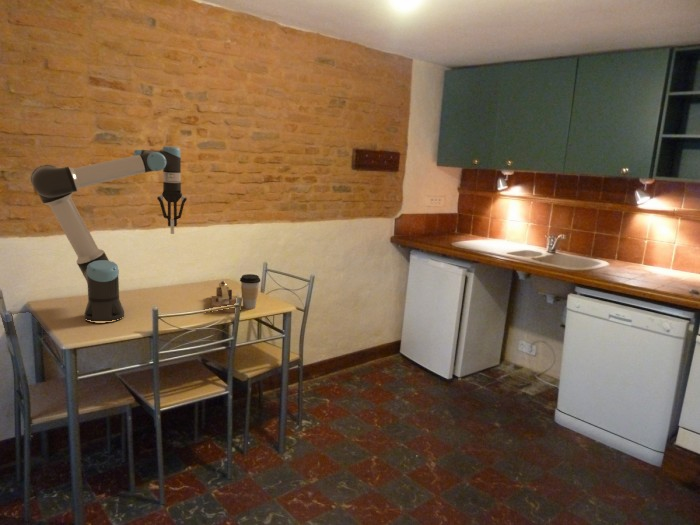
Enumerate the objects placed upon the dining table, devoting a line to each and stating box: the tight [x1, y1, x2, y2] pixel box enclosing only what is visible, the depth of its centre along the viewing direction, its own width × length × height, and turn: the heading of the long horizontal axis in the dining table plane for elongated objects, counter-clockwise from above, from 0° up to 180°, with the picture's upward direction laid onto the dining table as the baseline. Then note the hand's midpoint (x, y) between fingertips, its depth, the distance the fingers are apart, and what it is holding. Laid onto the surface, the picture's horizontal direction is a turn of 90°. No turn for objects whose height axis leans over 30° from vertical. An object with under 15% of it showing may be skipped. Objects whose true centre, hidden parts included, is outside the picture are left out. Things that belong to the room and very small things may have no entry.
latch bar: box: [218, 280, 228, 298], centre depth 242 cm, size 18×4×3 cm, turn 18°
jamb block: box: [215, 286, 230, 296], centre depth 250 cm, size 6×6×5 cm
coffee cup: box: [239, 273, 261, 310], centre depth 239 cm, size 9×9×15 cm
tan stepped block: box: [210, 289, 238, 314], centre depth 236 cm, size 12×14×8 cm
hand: (172, 233), depth 234 cm, fingers closed
